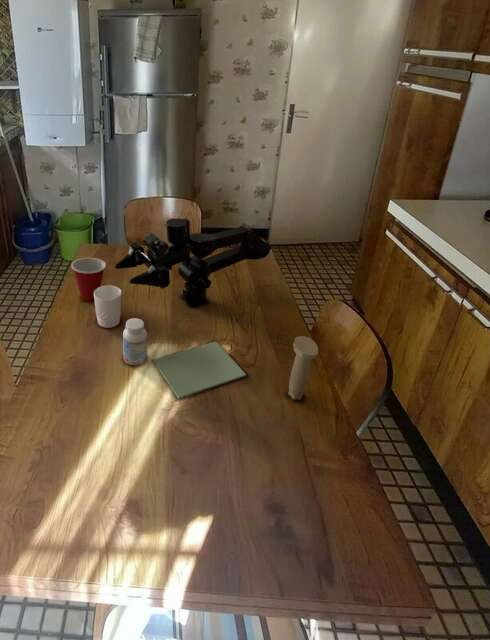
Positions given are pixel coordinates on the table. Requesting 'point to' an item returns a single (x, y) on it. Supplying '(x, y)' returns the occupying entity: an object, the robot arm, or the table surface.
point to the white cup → (108, 305)
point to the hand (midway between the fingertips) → (122, 274)
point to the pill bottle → (134, 342)
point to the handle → (301, 365)
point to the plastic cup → (88, 276)
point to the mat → (198, 369)
